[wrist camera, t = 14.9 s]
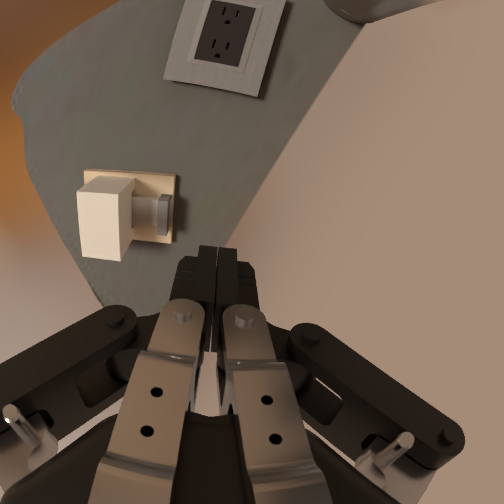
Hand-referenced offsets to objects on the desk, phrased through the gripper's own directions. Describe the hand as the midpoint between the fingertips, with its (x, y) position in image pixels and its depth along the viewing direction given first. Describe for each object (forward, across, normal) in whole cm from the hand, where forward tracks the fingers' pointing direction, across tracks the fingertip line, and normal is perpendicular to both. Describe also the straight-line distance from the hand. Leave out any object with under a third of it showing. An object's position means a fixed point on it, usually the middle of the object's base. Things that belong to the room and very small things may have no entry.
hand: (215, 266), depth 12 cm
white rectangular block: (+24, +13, +8) cm, 28 cm away
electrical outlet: (+26, +2, -14) cm, 29 cm away
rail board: (+25, +12, +8) cm, 29 cm away
